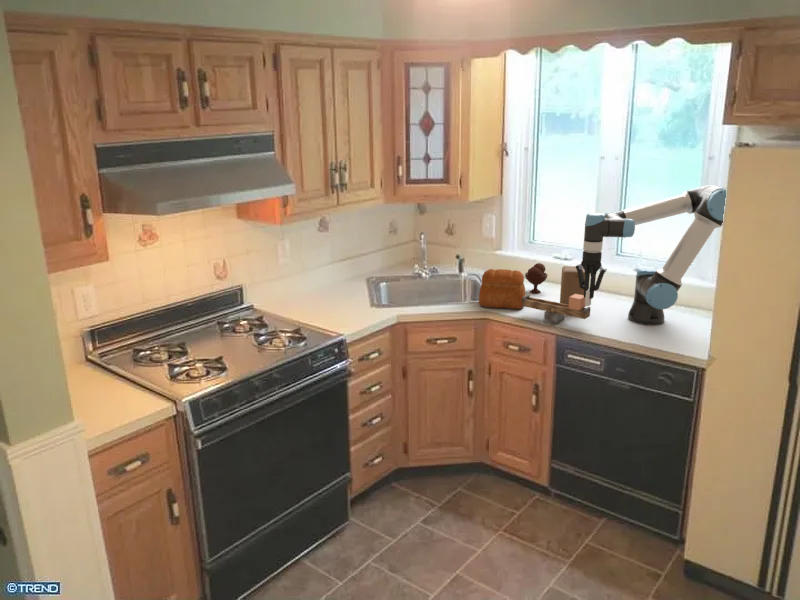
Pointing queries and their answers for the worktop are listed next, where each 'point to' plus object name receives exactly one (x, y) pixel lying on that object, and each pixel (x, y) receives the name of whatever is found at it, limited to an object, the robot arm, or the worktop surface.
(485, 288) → the bread
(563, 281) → the wooden block
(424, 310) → the worktop surface
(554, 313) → the beam
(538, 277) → the ice cream bowl
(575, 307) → the block
